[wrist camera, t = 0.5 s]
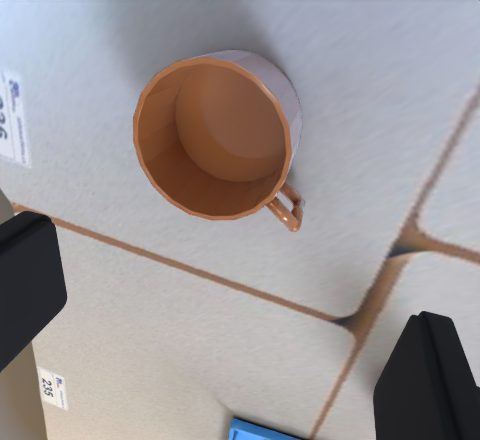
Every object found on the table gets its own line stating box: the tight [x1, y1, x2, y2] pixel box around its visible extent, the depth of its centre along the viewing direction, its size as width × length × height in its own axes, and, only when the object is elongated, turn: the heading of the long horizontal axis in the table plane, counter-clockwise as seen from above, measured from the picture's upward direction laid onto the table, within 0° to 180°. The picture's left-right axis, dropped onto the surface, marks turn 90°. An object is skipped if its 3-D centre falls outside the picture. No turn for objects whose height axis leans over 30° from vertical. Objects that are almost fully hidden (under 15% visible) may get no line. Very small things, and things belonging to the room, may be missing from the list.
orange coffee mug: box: [133, 49, 305, 232], centre depth 33 cm, size 17×13×8 cm
